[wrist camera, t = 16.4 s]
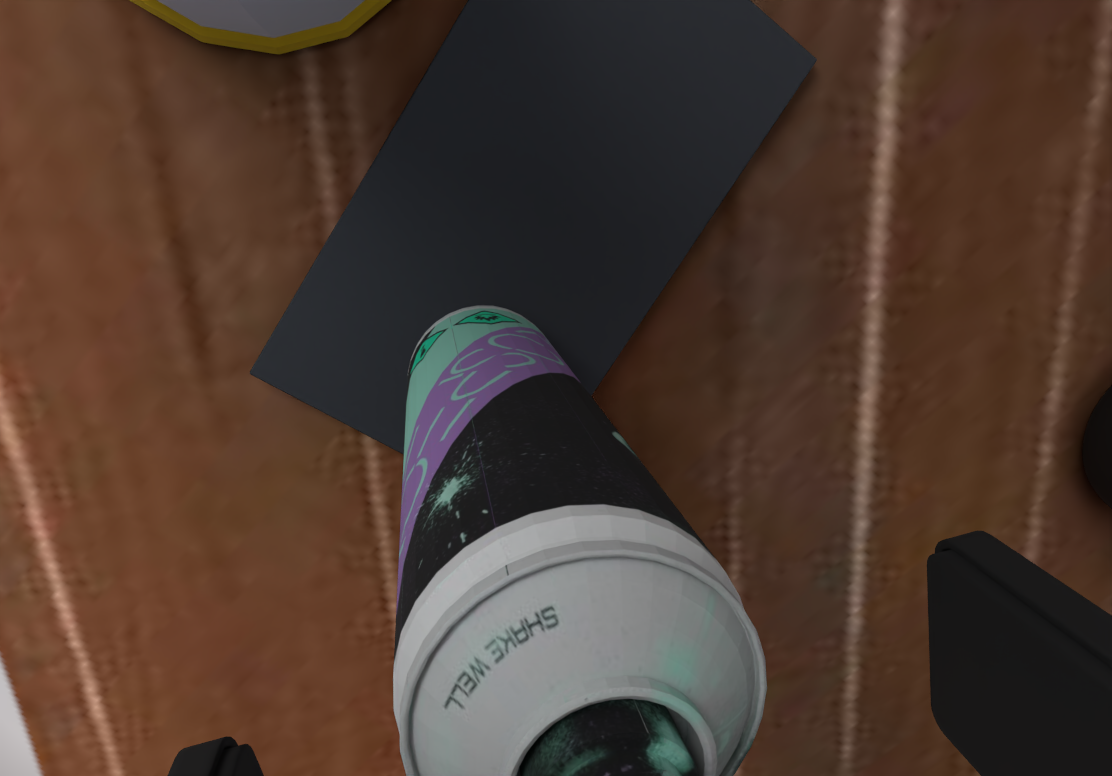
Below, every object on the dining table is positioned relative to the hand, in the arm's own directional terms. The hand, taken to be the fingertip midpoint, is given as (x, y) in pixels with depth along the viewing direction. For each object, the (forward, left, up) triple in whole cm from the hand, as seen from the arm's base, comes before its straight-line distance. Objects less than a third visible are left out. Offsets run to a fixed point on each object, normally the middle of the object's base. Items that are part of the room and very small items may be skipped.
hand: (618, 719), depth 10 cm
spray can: (0, 0, -18) cm, 18 cm away
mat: (+2, -6, -19) cm, 19 cm away
